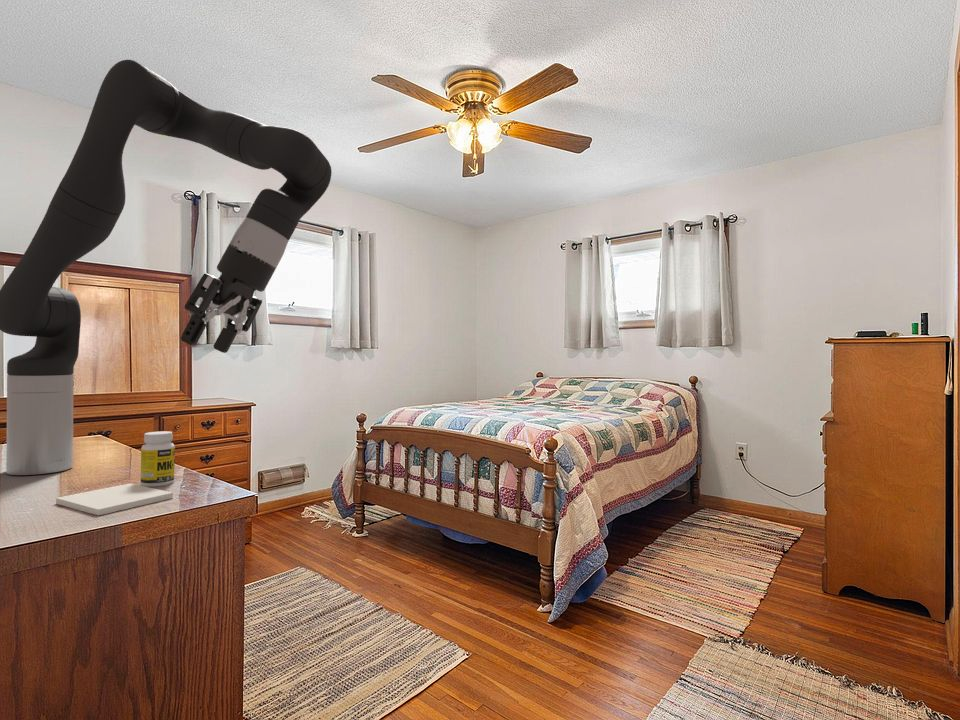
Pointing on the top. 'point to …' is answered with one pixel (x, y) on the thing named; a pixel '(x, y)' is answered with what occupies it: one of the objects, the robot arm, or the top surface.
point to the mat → (113, 498)
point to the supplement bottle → (157, 459)
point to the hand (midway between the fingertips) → (204, 347)
